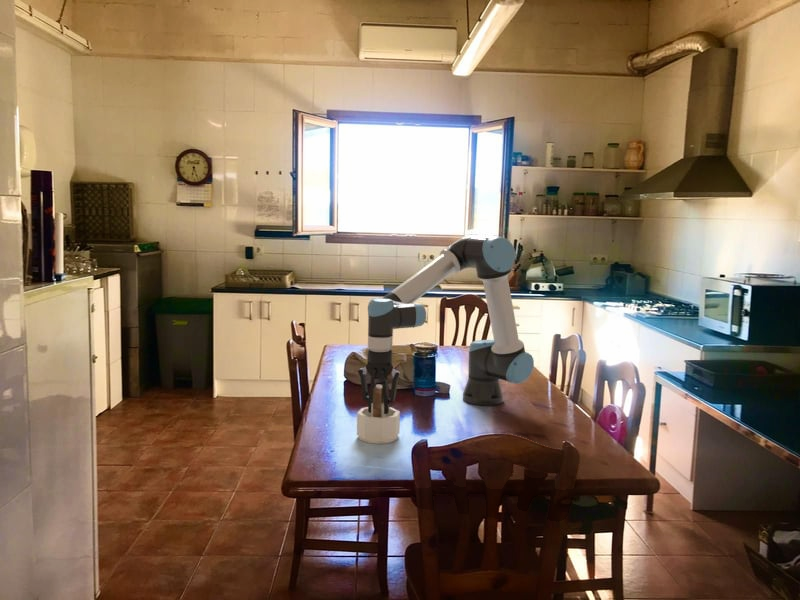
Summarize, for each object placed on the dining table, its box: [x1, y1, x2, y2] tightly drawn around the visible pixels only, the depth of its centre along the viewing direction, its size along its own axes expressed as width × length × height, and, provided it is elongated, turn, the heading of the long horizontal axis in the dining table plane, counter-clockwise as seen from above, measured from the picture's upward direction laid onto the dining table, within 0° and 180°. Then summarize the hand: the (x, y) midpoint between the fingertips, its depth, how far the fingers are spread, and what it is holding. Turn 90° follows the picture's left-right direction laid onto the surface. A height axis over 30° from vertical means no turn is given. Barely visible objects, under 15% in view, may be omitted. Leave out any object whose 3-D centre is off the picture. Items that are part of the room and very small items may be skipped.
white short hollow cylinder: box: [356, 406, 401, 445], centre depth 203 cm, size 12×12×8 cm
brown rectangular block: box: [373, 383, 384, 418], centre depth 202 cm, size 2×4×12 cm, turn 168°
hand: (378, 423), depth 203 cm, fingers closed on brown rectangular block, 2 cm apart
